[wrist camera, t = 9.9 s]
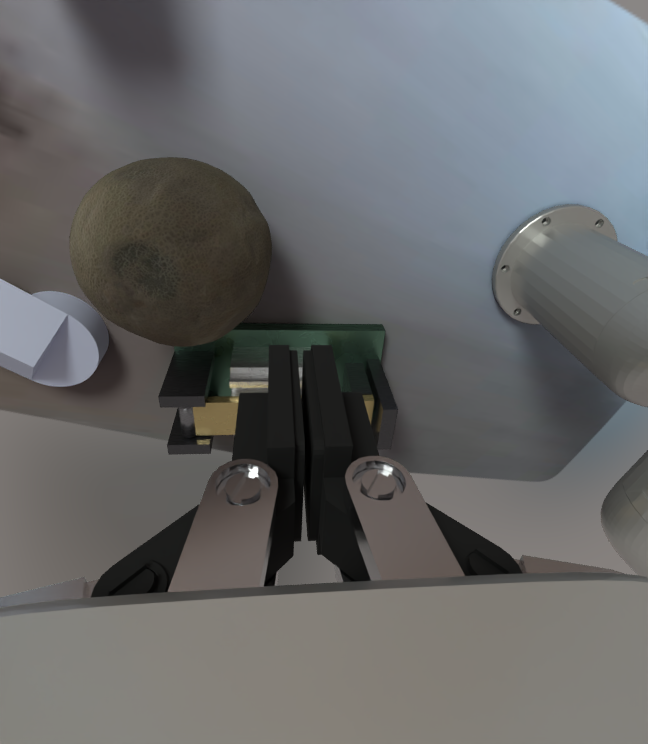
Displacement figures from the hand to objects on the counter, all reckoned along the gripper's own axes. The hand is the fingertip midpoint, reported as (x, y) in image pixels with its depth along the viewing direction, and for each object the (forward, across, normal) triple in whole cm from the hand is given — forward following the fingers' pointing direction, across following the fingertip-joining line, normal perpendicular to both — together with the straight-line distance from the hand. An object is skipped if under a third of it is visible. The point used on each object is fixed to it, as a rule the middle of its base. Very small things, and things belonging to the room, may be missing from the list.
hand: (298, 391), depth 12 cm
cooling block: (+33, 0, +21) cm, 39 cm away
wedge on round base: (+33, +24, +15) cm, 44 cm away
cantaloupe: (+33, +8, +5) cm, 35 cm away
